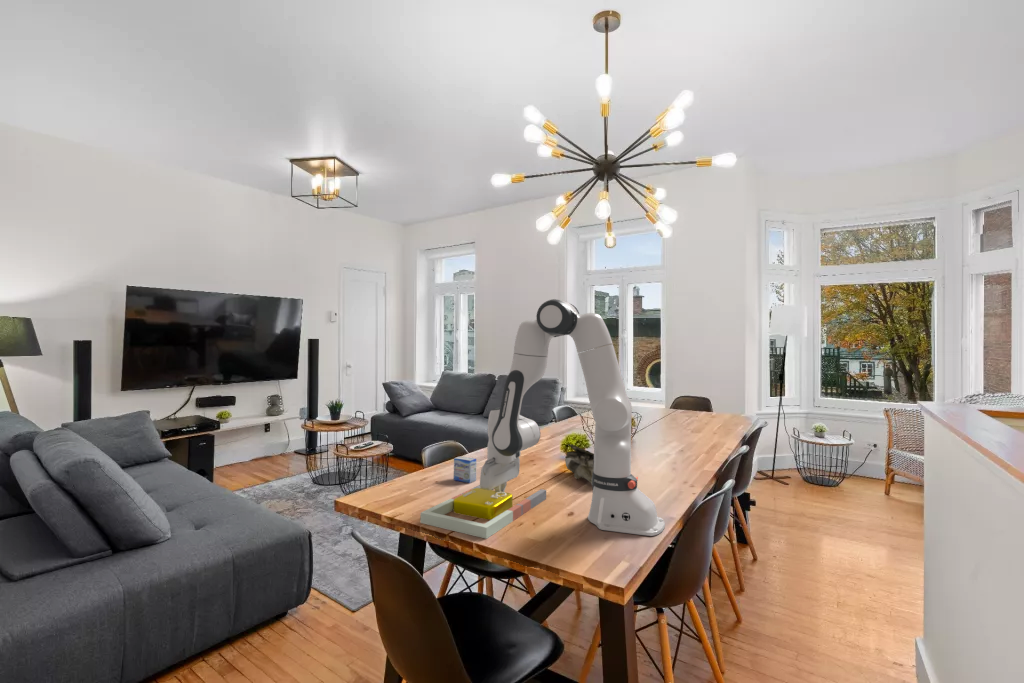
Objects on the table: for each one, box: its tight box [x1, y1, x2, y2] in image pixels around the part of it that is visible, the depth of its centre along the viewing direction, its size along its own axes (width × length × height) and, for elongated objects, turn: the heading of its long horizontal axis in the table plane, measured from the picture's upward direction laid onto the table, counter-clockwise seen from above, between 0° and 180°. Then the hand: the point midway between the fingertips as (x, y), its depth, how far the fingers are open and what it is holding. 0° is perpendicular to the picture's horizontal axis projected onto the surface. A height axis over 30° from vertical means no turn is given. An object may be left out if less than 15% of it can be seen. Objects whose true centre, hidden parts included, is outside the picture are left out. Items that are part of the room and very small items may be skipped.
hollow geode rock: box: [564, 443, 594, 485], centre depth 191 cm, size 28×13×15 cm
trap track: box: [420, 484, 547, 539], centre depth 154 cm, size 23×39×3 cm, turn 151°
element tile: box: [453, 488, 514, 521], centre depth 155 cm, size 15×15×5 cm
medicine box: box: [453, 456, 477, 484], centre depth 187 cm, size 8×4×9 cm, turn 62°
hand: (500, 496), depth 161 cm, fingers closed
